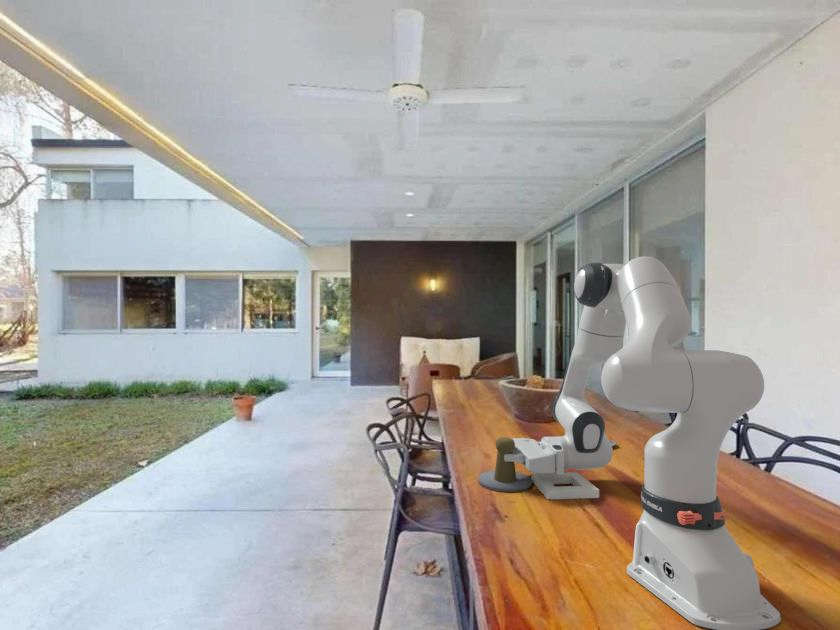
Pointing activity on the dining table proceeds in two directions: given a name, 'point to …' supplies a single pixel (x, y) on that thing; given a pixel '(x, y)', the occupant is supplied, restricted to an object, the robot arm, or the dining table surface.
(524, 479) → the charcoal mat
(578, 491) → the white square frame
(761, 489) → the dining table surface
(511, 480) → the olive pawn
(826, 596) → the dining table surface
